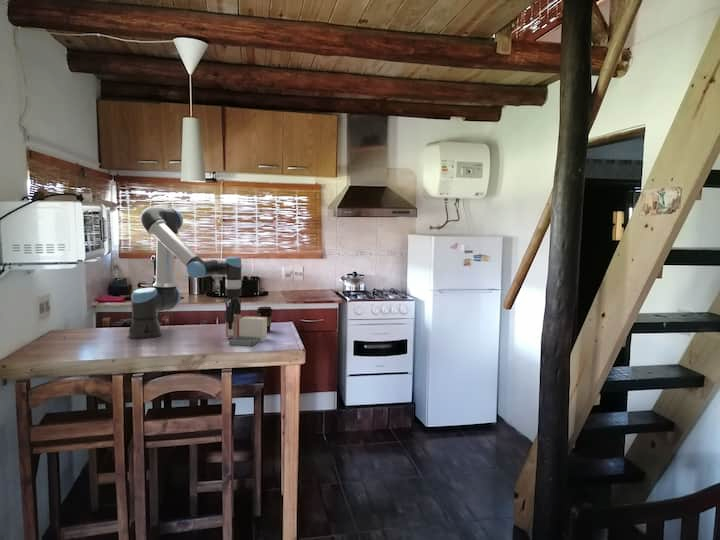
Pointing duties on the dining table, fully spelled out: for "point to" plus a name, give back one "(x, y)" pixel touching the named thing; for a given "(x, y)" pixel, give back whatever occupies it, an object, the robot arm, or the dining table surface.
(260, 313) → the coffee cup
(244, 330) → the boxy square-sided block
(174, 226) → the robot arm
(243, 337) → the tray
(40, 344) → the dining table surface
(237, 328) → the stub
